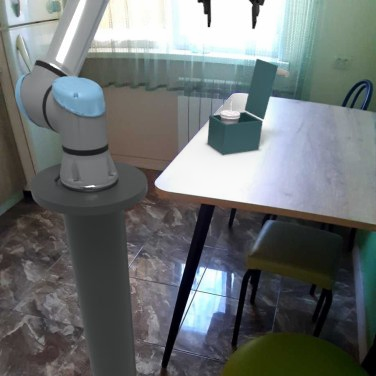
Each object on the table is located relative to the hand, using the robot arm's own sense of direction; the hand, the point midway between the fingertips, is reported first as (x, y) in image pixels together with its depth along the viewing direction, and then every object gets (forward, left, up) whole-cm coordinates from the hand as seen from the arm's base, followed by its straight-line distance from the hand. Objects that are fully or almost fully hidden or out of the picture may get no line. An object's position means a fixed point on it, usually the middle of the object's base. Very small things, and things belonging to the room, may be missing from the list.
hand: (232, 24), depth 122 cm
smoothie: (-4, -10, -31) cm, 33 cm away
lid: (+6, -10, -15) cm, 19 cm away
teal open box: (-1, -10, -32) cm, 33 cm away
